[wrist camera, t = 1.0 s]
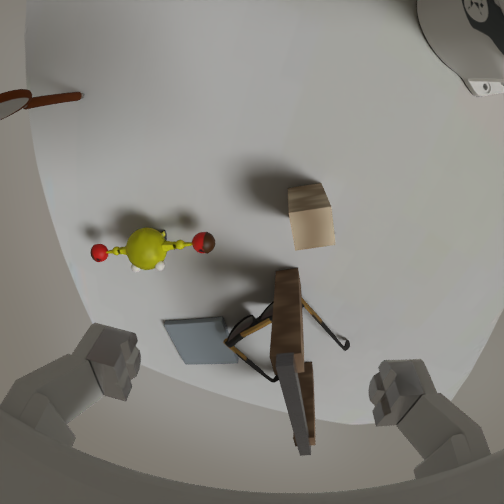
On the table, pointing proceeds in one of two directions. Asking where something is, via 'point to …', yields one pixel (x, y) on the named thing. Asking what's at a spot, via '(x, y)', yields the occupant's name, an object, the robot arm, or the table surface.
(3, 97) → the magnifying glass
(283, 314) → the rod stand
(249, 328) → the sunglasses
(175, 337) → the pad
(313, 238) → the block
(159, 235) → the toy figure
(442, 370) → the table surface
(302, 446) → the rod
